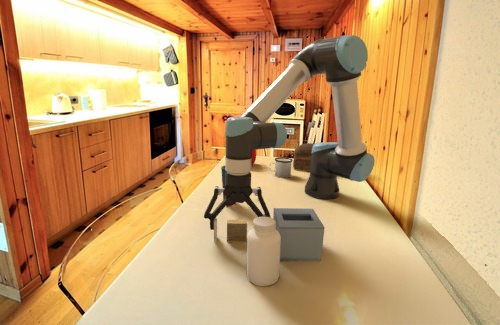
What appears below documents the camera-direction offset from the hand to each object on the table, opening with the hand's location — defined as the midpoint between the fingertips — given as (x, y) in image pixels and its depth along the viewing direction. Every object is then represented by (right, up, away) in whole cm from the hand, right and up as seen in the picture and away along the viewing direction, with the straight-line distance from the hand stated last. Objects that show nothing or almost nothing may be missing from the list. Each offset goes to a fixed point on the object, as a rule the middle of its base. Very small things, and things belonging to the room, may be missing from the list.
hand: (236, 239), depth 87 cm
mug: (+20, +16, +66) cm, 71 cm away
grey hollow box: (+17, -2, -4) cm, 18 cm away
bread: (+45, +19, +79) cm, 93 cm away
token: (0, 0, 0) cm, 0 cm away
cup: (-4, +7, +27) cm, 28 cm away
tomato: (+2, +22, +85) cm, 87 cm away
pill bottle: (+7, -5, -17) cm, 19 cm away
